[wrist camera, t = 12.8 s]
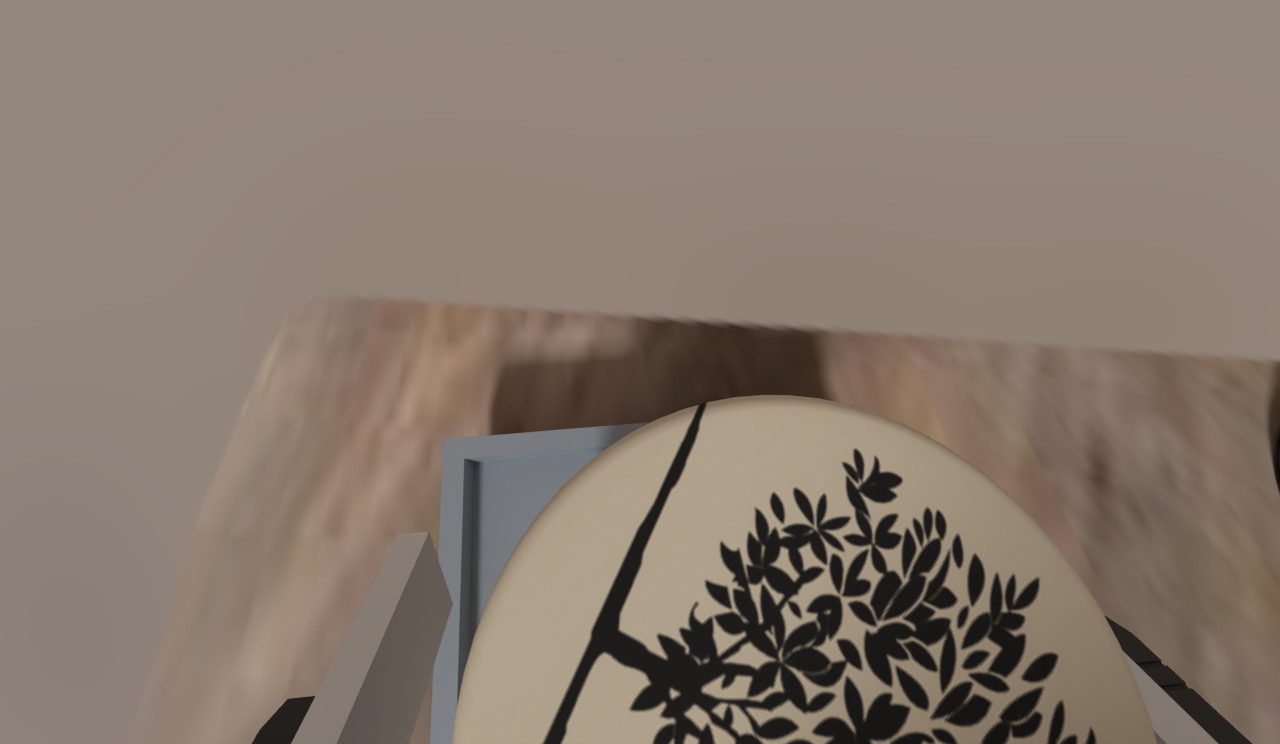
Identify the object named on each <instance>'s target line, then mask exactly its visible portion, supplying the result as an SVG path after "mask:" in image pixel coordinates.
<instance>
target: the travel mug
mask: <svg viewBox="0 0 1280 744" xmlns="http://www.w3.org/2000/svg"><path fill="white" fill-rule="evenodd" d="M452 744H1157V741H1156V737H1155V734H1154V731H1153V727H1152V724H1151V720H1150V717H1149V714H1148V712H1147V709H1146V706H1145V703H1144V701H1143V698H1142V695H1141V693H1140V690H1139V687H1138V685H1137V682H1136V679H1135V677H1134V675H1133V673H1132V670H1131V668H1130V666H1129V664H1128V662H1127V659H1126V657H1125V655H1124V653H1123V651H1122V648H1121V646H1120V644H1119V642H1118V640H1117V638H1116V636H1115V634H1114V633H1113V631H1112V629H1111V627H1110V625H1109V623H1108V622H1107V620H1106V618H1105V616H1104V614H1103V612H1102V611H1101V609H1100V607H1099V605H1098V604H1097V602H1096V601H1095V599H1094V598H1093V596H1092V594H1091V593H1090V591H1089V590H1088V588H1087V587H1086V585H1085V584H1084V582H1083V580H1082V579H1081V577H1080V576H1079V574H1078V573H1077V572H1076V570H1075V569H1074V568H1073V566H1072V565H1071V564H1070V562H1069V561H1068V560H1067V558H1066V557H1065V556H1064V554H1063V553H1062V552H1061V550H1060V549H1059V548H1058V546H1057V545H1056V544H1055V543H1054V542H1053V541H1052V539H1051V538H1050V537H1049V536H1048V535H1047V534H1046V532H1045V531H1044V530H1043V529H1042V528H1041V527H1040V526H1039V524H1038V523H1037V522H1036V521H1035V520H1034V519H1033V518H1032V517H1031V516H1030V515H1029V514H1028V513H1027V512H1026V511H1025V510H1024V509H1023V508H1022V507H1021V506H1020V505H1019V504H1018V503H1017V502H1016V501H1015V500H1014V499H1013V498H1012V497H1011V496H1010V495H1009V494H1008V493H1007V492H1006V491H1004V490H1003V489H1002V488H1001V487H1000V486H998V485H997V484H996V483H995V482H994V481H993V480H991V479H990V478H989V477H988V476H987V475H986V474H984V473H983V472H982V471H980V470H979V469H978V468H976V467H975V466H973V465H972V464H971V463H969V462H968V461H967V460H965V459H964V458H962V457H961V456H960V455H958V454H957V453H955V452H954V451H952V450H950V449H949V448H947V447H945V446H944V445H942V444H940V443H939V442H937V441H935V440H934V439H932V438H930V437H929V436H927V435H925V434H923V433H921V432H919V431H917V430H915V429H913V428H911V427H909V426H907V425H905V424H903V423H900V422H898V421H895V420H893V419H890V418H887V417H885V416H882V415H880V414H877V413H875V412H872V411H868V410H865V409H862V408H858V407H855V406H852V405H848V404H844V403H839V402H834V401H829V400H824V399H819V398H811V397H802V396H792V395H756V396H744V397H734V398H728V399H723V400H717V401H712V402H707V403H703V404H700V405H696V406H693V407H689V408H686V409H682V410H680V411H677V412H675V413H672V414H670V415H667V416H664V417H662V418H659V419H657V420H655V421H653V422H651V423H649V424H647V425H645V426H643V427H641V428H639V429H637V430H635V431H633V432H631V433H630V434H628V435H627V436H625V437H623V438H622V439H620V440H619V441H617V442H616V443H614V444H613V445H611V446H609V447H608V448H606V449H605V450H604V451H603V452H601V453H600V454H599V455H597V456H596V457H595V458H594V459H592V460H591V461H590V462H589V463H587V464H586V465H585V466H583V467H582V468H581V469H580V470H579V471H578V472H577V473H576V474H575V475H574V476H573V477H572V478H571V479H570V480H569V481H568V482H567V483H566V484H565V485H564V486H562V487H561V488H560V490H559V491H558V492H557V493H556V494H555V495H554V497H553V498H552V499H551V500H550V501H549V502H548V503H547V505H546V506H545V507H544V508H543V509H542V510H541V511H540V513H539V514H538V516H537V517H536V518H535V520H534V521H533V522H532V524H531V525H530V527H529V528H528V529H527V531H526V532H525V534H524V535H523V536H522V538H521V539H520V541H519V543H518V544H517V546H516V548H515V549H514V551H513V553H512V554H511V556H510V558H509V559H508V561H507V563H506V565H505V566H504V568H503V570H502V572H501V574H500V576H499V578H498V580H497V582H496V584H495V587H494V589H493V591H492V593H491V595H490V597H489V599H488V601H487V604H486V607H485V609H484V612H483V614H482V617H481V620H480V622H479V625H478V628H477V630H476V633H475V636H474V639H473V643H472V646H471V650H470V653H469V657H468V660H467V664H466V667H465V671H464V674H463V679H462V684H461V690H460V695H459V700H458V705H457V710H456V715H455V724H454V733H453V742H452Z"/></svg>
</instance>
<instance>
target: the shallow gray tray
mask: <svg viewBox="0 0 1280 744" xmlns="http://www.w3.org/2000/svg"><path fill="white" fill-rule="evenodd" d="M649 423H651V422H646V423H634V424H622V425H610V426H598V427H586V428H574V429H562V430H550V431H537V432H525V433H513V434H501V435H489V436H477V437H465V438H453V439H443V460H442V483H441V506H440V529H439V552H438V560H439V563H440V566H441V569H442V572H443V575H444V578H445V581H446V584H447V587H448V590H449V593H450V596H451V599H452V602H453V606H452V609H451V612H450V615H449V618H448V621H447V625H446V628H445V631H444V634H443V637H442V640H441V644H440V647H439V650H438V653H437V656H436V659H435V663H434V666H433V689H432V712H431V735H430V744H452V742H453V733H454V724H455V715H456V710H457V705H458V700H459V695H460V690H461V684H462V679H463V674H464V671H465V667H466V664H467V660H468V657H469V653H470V650H471V646H472V643H473V639H474V636H475V633H476V630H477V628H478V625H479V622H480V620H481V617H482V614H483V612H484V609H485V607H486V604H487V601H488V599H489V597H490V595H491V593H492V591H493V589H494V587H495V584H496V582H497V580H498V578H499V576H500V574H501V572H502V570H503V568H504V566H505V565H506V563H507V561H508V559H509V558H510V556H511V554H512V553H513V551H514V549H515V548H516V546H517V544H518V543H519V541H520V539H521V538H522V536H523V535H524V534H525V532H526V531H527V529H528V528H529V527H530V525H531V524H532V522H533V521H534V520H535V518H536V517H537V516H538V514H539V513H540V511H541V510H542V509H543V508H544V507H545V506H546V505H547V503H548V502H549V501H550V500H551V499H552V498H553V497H554V495H555V494H556V493H557V492H558V491H559V490H560V488H561V487H562V486H564V485H565V484H566V483H567V482H568V481H569V480H570V479H571V478H572V477H573V476H574V475H575V474H576V473H577V472H578V471H579V470H580V469H581V468H582V467H583V466H585V465H586V464H587V463H589V462H590V461H591V460H592V459H594V458H595V457H596V456H597V455H599V454H600V453H601V452H603V451H604V450H605V449H606V448H608V447H609V446H611V445H613V444H614V443H616V442H617V441H619V440H620V439H622V438H623V437H625V436H627V435H628V434H630V433H631V432H633V431H635V430H637V429H639V428H641V427H643V426H645V425H647V424H649Z"/></svg>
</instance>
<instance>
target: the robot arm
mask: <svg viewBox="0 0 1280 744" xmlns="http://www.w3.org/2000/svg"><path fill="white" fill-rule="evenodd" d="M1279 470H1280V445H1279ZM452 606H453V602H452V599H451V596H450V593H449V590H448V587H447V584H446V581H445V578H444V575H443V572H442V569H441V566H440V563H439V560H438V557H437V554H436V551H435V548H434V545H433V542H432V539H431V536H430V533H429V531H428V532H417V533H406V534H398V536H397V538H396V540H395V542H394V544H393V546H392V548H391V550H390V552H389V554H388V556H387V557H386V559H385V561H384V563H383V565H382V567H381V569H380V571H379V573H378V575H377V577H376V579H375V581H374V583H373V585H372V587H371V589H370V591H369V593H368V595H367V597H366V598H365V600H364V602H363V604H362V606H361V608H360V610H359V612H358V614H357V616H356V618H355V620H354V622H353V624H352V626H351V628H350V630H349V632H348V634H347V636H346V638H345V640H344V641H343V643H342V645H341V647H340V649H339V651H338V653H337V655H336V657H335V659H334V661H333V663H332V665H331V667H330V669H329V671H328V673H327V675H326V677H325V679H324V681H323V683H322V684H321V686H320V688H319V690H318V692H317V694H316V696H311V697H302V698H292V699H287V701H286V702H285V703H284V704H283V705H282V706H281V707H280V708H279V709H278V710H277V712H276V713H275V714H274V715H273V716H272V717H271V718H270V719H269V720H268V721H267V723H266V724H265V725H264V726H263V727H262V728H261V729H260V730H259V732H258V734H257V736H256V737H255V739H254V741H253V743H252V744H409V742H410V739H411V735H412V732H413V729H414V726H415V723H416V720H417V716H418V713H419V710H420V707H421V704H422V701H423V697H424V694H425V691H426V688H427V685H428V682H429V678H430V675H431V672H432V669H433V666H434V663H435V659H436V656H437V653H438V650H439V647H440V644H441V640H442V637H443V634H444V631H445V628H446V625H447V621H448V618H449V615H450V612H451V609H452ZM1105 618H1106V620H1107V622H1108V623H1109V625H1110V627H1111V629H1112V631H1113V633H1114V634H1115V636H1116V638H1117V640H1118V642H1119V644H1120V646H1121V648H1122V651H1123V653H1124V655H1125V657H1126V659H1127V662H1128V664H1129V666H1130V668H1131V670H1132V673H1133V675H1134V677H1135V679H1136V682H1137V685H1138V687H1139V690H1140V693H1141V695H1142V698H1143V701H1144V703H1145V706H1146V709H1147V712H1148V714H1149V717H1150V720H1151V724H1152V727H1153V731H1154V734H1155V737H1156V741H1157V744H1252V743H1251V742H1250V741H1248V740H1247V739H1246V738H1245V737H1244V736H1243V735H1242V734H1241V733H1240V732H1239V731H1238V730H1237V729H1235V728H1234V727H1233V726H1232V725H1231V724H1230V723H1229V722H1228V721H1227V720H1226V719H1225V718H1223V717H1222V716H1221V715H1220V714H1219V713H1218V712H1217V711H1216V710H1215V709H1214V708H1213V707H1212V706H1210V705H1209V704H1208V703H1207V702H1206V701H1205V700H1204V699H1203V698H1202V697H1201V696H1200V695H1199V694H1197V693H1196V692H1195V691H1194V690H1193V689H1189V688H1188V687H1187V686H1186V684H1185V682H1184V681H1183V680H1182V679H1181V678H1180V677H1179V676H1178V675H1177V674H1176V673H1175V672H1174V671H1172V670H1171V669H1170V668H1169V667H1168V666H1164V665H1163V664H1162V663H1161V660H1160V659H1159V658H1158V657H1157V656H1156V655H1155V654H1154V653H1153V652H1152V651H1151V650H1150V649H1149V648H1147V647H1146V646H1145V645H1144V644H1143V643H1142V642H1141V641H1140V640H1139V639H1138V638H1137V637H1136V636H1134V635H1133V634H1132V633H1131V632H1129V631H1128V630H1126V629H1125V628H1123V627H1121V626H1120V625H1118V624H1117V623H1115V622H1114V621H1112V620H1111V619H1109V618H1107V617H1106V616H1105Z"/></svg>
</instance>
